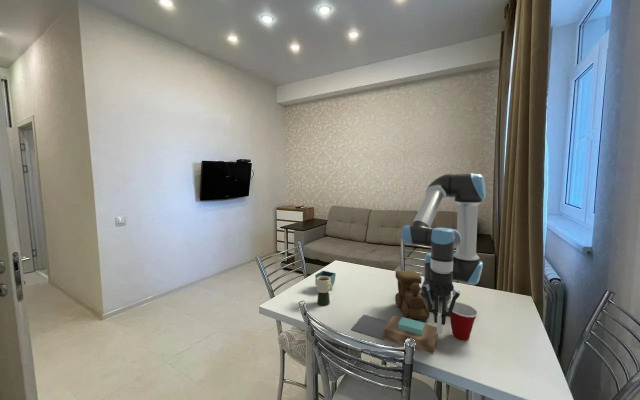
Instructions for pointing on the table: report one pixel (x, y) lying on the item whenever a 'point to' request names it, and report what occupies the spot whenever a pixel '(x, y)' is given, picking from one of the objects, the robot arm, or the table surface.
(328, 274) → the flower pot
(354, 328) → the mat
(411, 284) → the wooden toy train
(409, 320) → the teal rectangular block
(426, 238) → the robot arm
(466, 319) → the plastic cup
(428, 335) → the brown rectangular block
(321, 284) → the character mug
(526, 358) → the table surface
